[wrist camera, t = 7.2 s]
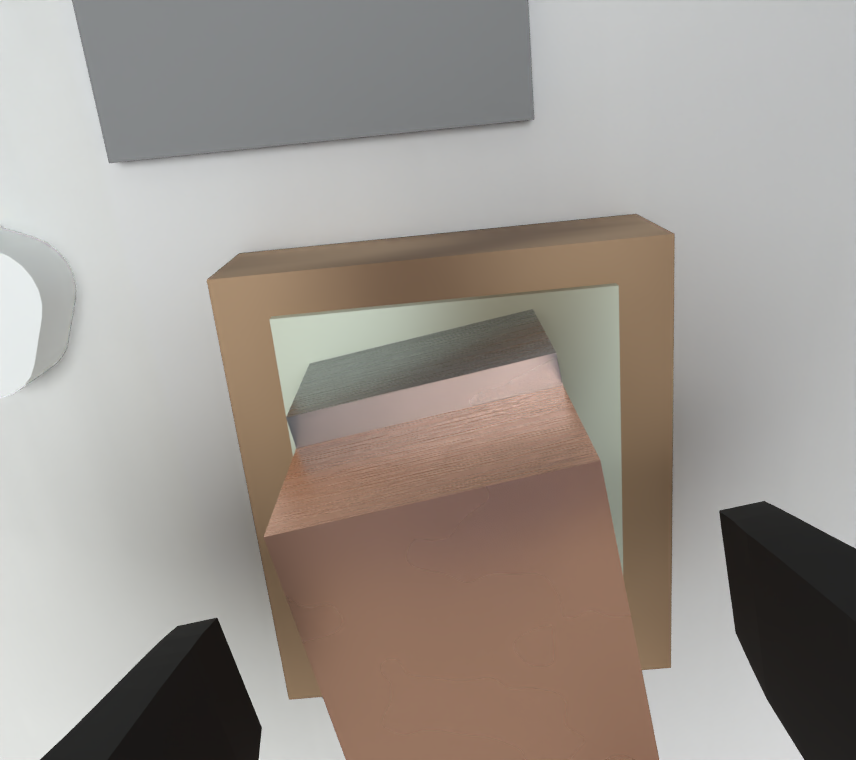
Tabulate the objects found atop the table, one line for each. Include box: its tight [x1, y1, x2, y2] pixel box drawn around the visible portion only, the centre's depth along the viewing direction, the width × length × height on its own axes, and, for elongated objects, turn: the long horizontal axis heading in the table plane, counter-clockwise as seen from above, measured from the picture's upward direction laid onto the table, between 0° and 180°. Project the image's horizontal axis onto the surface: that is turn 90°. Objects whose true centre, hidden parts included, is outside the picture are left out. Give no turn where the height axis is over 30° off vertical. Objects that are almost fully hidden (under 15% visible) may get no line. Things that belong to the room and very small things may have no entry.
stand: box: [207, 214, 674, 699], centre depth 16 cm, size 8×9×3 cm
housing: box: [264, 309, 659, 760], centre depth 12 cm, size 4×6×5 cm, turn 14°
